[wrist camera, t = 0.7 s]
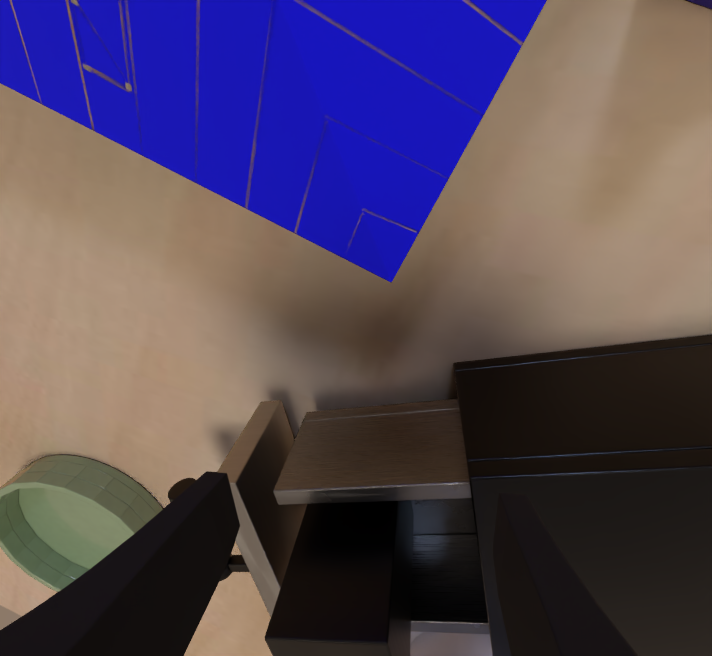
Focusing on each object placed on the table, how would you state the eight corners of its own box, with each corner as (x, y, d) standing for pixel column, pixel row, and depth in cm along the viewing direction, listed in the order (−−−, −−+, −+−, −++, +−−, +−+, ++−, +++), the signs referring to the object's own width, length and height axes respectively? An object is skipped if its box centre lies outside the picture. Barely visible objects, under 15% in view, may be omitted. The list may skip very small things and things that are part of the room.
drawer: (249, 538, 26) (206, 636, 21) (191, 408, 22) (121, 489, 17) (518, 534, 23) (547, 652, 17) (506, 377, 19) (538, 468, 13)
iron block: (413, 513, 22) (409, 716, 14) (339, 515, 22) (296, 706, 15) (401, 452, 20) (387, 644, 12) (321, 457, 21) (263, 638, 13)
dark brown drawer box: (475, 529, 24) (495, 681, 17) (453, 362, 20) (468, 478, 13) (741, 524, 21) (893, 706, 14) (785, 325, 17) (1038, 452, 10)
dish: (198, 573, 30) (180, 607, 28) (70, 572, 33) (44, 603, 31) (131, 449, 26) (103, 478, 23) (-11, 459, 28) (-48, 486, 26)
